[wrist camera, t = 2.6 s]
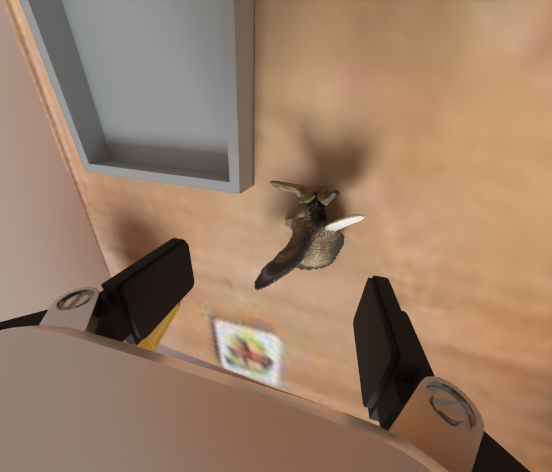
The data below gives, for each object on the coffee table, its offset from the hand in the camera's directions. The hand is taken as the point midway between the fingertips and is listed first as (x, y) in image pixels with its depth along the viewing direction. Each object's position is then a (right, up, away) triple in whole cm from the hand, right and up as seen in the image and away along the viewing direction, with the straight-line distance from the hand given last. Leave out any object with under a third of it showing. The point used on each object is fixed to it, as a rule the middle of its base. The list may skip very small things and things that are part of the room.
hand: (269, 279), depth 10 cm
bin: (-9, +15, +5) cm, 19 cm away
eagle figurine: (+3, +3, +8) cm, 10 cm away
